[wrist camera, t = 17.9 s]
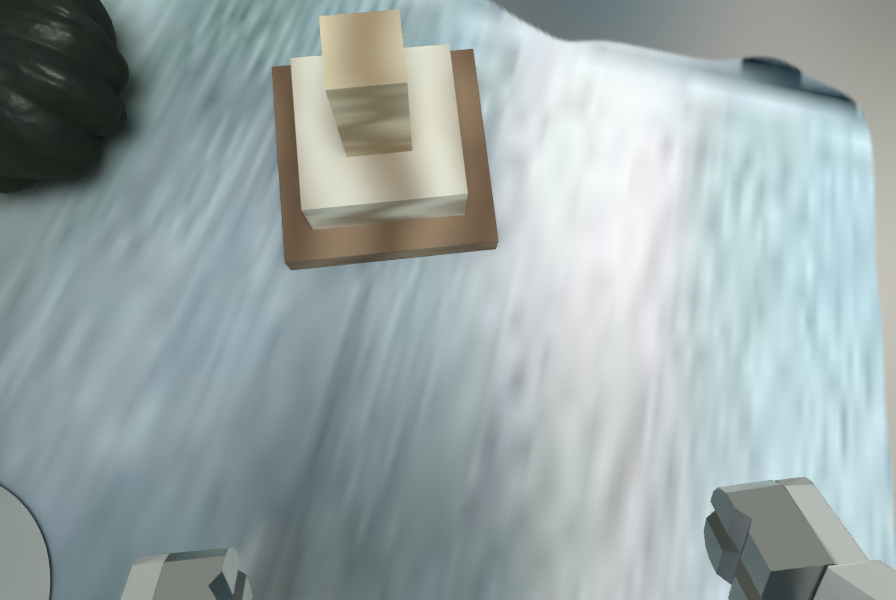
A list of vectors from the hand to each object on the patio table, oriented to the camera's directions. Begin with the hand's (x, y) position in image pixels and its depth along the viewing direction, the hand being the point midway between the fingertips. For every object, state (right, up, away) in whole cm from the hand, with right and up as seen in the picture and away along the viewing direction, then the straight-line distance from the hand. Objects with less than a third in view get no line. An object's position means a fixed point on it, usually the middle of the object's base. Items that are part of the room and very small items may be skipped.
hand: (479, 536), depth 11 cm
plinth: (-5, +14, +35) cm, 37 cm away
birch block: (-5, +15, +29) cm, 33 cm away
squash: (-29, +17, +35) cm, 48 cm away
